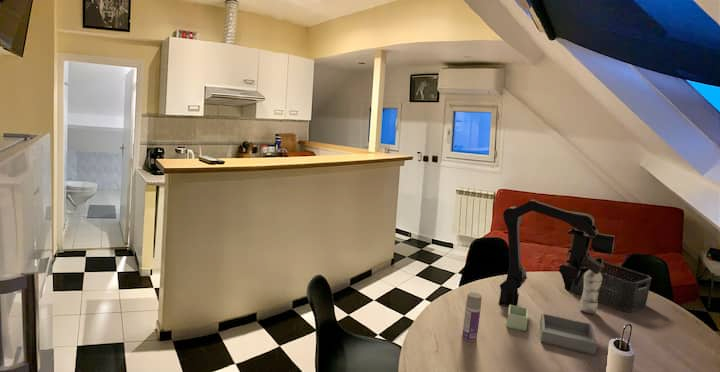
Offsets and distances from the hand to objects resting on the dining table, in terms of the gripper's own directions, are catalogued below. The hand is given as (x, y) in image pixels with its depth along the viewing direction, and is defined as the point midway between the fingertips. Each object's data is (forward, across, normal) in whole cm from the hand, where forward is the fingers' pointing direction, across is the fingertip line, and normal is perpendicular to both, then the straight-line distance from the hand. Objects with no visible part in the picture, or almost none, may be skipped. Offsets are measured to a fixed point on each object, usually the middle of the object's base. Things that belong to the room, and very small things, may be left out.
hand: (572, 288), depth 153 cm
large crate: (+13, -15, -4) cm, 20 cm away
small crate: (+14, -19, +11) cm, 26 cm away
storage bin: (+13, +42, -3) cm, 45 cm away
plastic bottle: (+13, +17, -3) cm, 22 cm away
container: (+14, -42, +17) cm, 48 cm away
